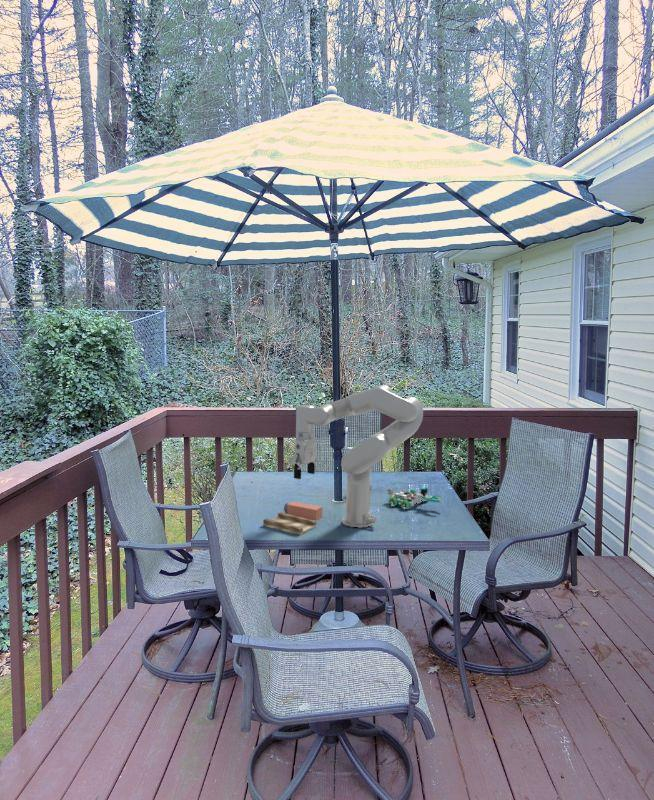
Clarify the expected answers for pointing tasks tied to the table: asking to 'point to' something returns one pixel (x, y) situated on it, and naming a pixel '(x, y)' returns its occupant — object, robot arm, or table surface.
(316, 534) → the table surface
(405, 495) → the robot kit
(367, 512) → the robot arm
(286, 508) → the salmon rectangular block
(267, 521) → the cradle
